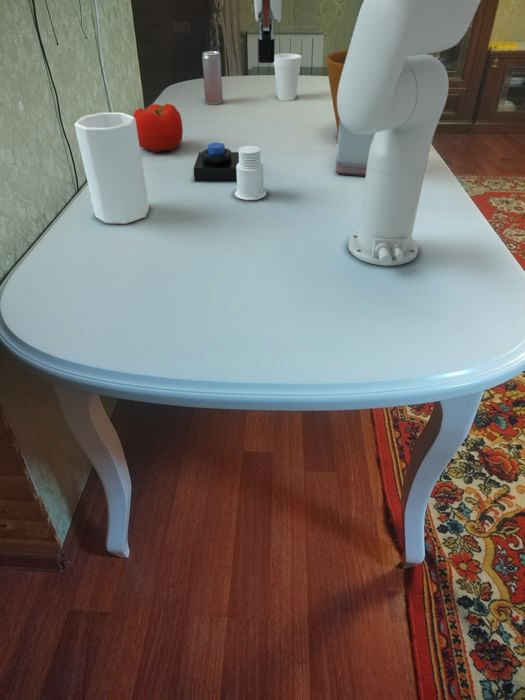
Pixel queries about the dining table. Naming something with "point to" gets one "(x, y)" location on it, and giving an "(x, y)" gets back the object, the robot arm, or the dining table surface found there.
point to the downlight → (249, 174)
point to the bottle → (352, 151)
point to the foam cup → (287, 75)
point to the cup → (113, 166)
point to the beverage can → (212, 77)
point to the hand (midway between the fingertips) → (266, 61)
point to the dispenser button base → (216, 166)
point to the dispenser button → (216, 149)
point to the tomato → (158, 127)
